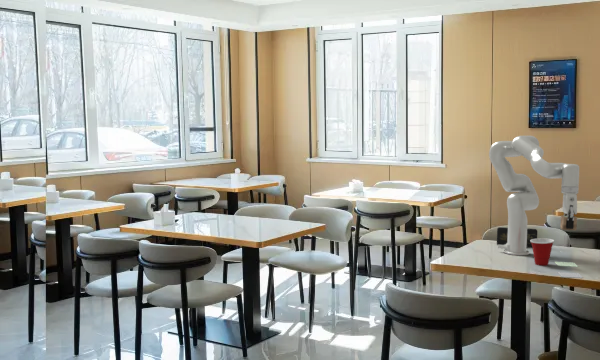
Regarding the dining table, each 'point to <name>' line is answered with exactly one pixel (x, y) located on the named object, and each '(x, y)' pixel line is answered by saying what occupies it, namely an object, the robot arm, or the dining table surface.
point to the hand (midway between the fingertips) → (568, 227)
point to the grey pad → (570, 275)
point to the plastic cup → (542, 250)
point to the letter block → (563, 223)
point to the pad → (566, 264)
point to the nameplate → (503, 236)
